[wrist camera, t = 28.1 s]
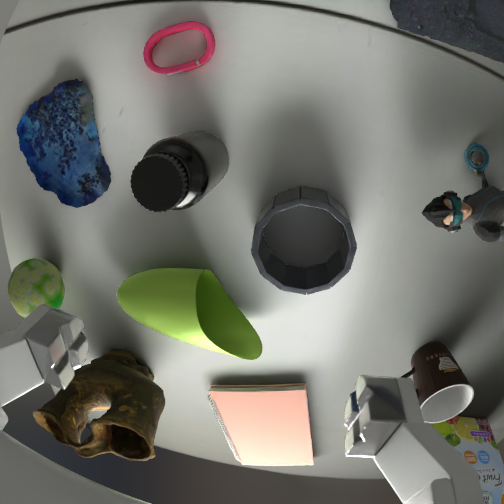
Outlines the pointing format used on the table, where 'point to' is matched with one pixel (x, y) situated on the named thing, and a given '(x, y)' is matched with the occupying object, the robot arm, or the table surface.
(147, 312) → the green hollow scoop
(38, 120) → the rock
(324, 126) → the table surface
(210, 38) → the fitness band
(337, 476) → the table surface
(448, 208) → the figurine
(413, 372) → the coffee mug
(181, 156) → the supplement bottle
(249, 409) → the notebook
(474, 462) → the snack box
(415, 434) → the robot arm
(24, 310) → the decorative ball
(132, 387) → the pottery vessel
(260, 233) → the stand
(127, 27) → the table surface
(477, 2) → the dark slate chunk
